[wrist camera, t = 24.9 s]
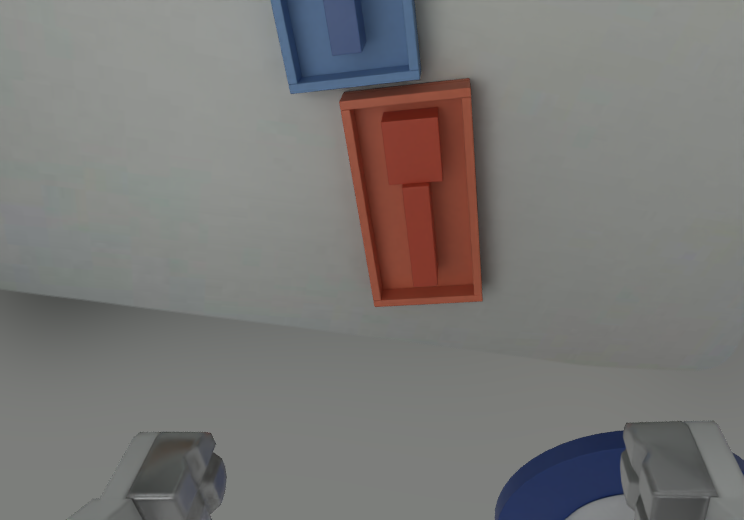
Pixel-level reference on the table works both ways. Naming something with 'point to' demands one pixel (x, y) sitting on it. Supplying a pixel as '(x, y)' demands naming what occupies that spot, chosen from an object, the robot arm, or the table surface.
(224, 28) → the table surface
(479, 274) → the red tray
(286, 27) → the blue tray
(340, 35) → the blue stepped bar
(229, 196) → the table surface
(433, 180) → the red stepped bar
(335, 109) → the table surface
